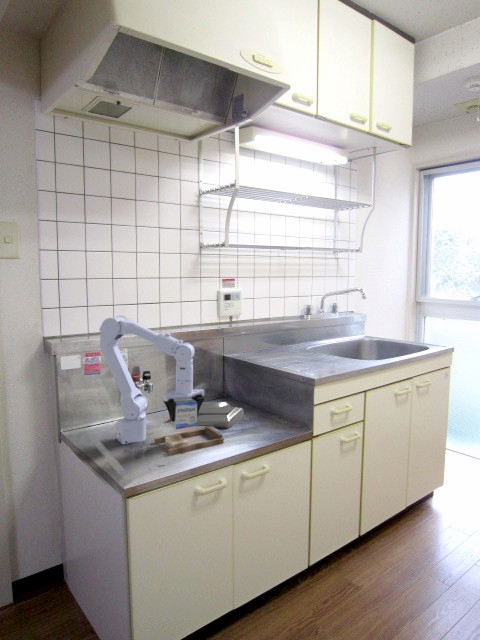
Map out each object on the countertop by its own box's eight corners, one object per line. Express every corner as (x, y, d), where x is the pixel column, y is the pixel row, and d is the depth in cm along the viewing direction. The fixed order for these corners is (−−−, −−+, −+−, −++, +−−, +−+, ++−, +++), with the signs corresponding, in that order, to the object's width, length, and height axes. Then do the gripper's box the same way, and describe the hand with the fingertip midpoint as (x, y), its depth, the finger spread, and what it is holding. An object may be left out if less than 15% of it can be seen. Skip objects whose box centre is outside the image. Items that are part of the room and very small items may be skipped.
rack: (169, 459, 136) (169, 447, 136) (154, 446, 146) (154, 435, 146) (223, 447, 147) (223, 435, 147) (206, 435, 157) (206, 425, 157)
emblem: (194, 422, 156) (162, 403, 179) (194, 437, 157) (161, 416, 179) (256, 410, 172) (219, 394, 195) (256, 423, 173) (219, 405, 195)
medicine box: (175, 429, 143) (175, 404, 142) (170, 425, 147) (170, 400, 146) (197, 426, 147) (197, 401, 146) (191, 422, 151) (191, 397, 150)
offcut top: (173, 450, 140) (173, 444, 139) (165, 443, 146) (165, 437, 145) (187, 447, 142) (187, 441, 142) (179, 440, 148) (179, 434, 148)
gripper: (169, 384, 138) (169, 425, 139) (209, 379, 146) (208, 418, 148) (160, 379, 144) (160, 419, 145) (199, 375, 152) (198, 412, 153)
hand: (183, 418), depth 147 cm, fingers closed on medicine box, 7 cm apart
